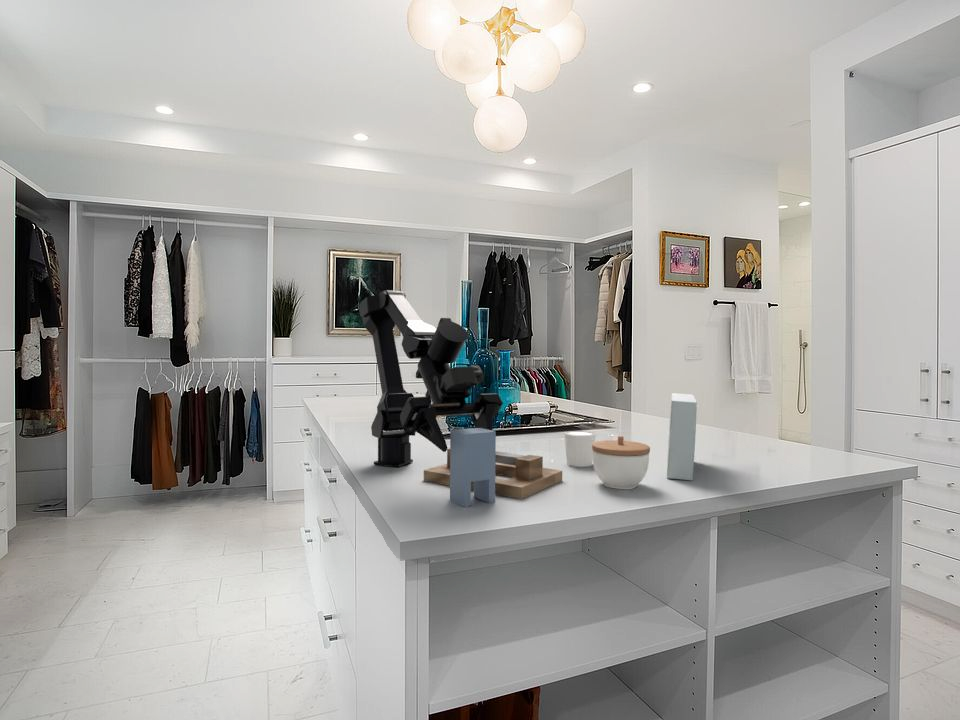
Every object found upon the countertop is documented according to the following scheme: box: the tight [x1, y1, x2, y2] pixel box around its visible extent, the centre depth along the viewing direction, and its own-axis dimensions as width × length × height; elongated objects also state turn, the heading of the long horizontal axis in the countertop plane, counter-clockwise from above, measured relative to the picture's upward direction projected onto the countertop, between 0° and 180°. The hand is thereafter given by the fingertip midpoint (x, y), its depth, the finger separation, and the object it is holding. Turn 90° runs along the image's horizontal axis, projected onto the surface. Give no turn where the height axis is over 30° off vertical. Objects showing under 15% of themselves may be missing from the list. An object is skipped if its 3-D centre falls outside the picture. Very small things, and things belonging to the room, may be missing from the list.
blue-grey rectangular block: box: [449, 427, 497, 508], centre depth 96 cm, size 6×5×12 cm
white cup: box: [564, 430, 596, 468], centre depth 126 cm, size 7×7×7 cm
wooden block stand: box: [423, 448, 563, 500], centre depth 110 cm, size 22×16×6 cm
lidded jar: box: [592, 435, 651, 490], centre depth 108 cm, size 11×11×9 cm
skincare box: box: [666, 392, 698, 481], centre depth 122 cm, size 21×6×16 cm, turn 161°
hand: (469, 447), depth 97 cm, fingers open, 9 cm apart
